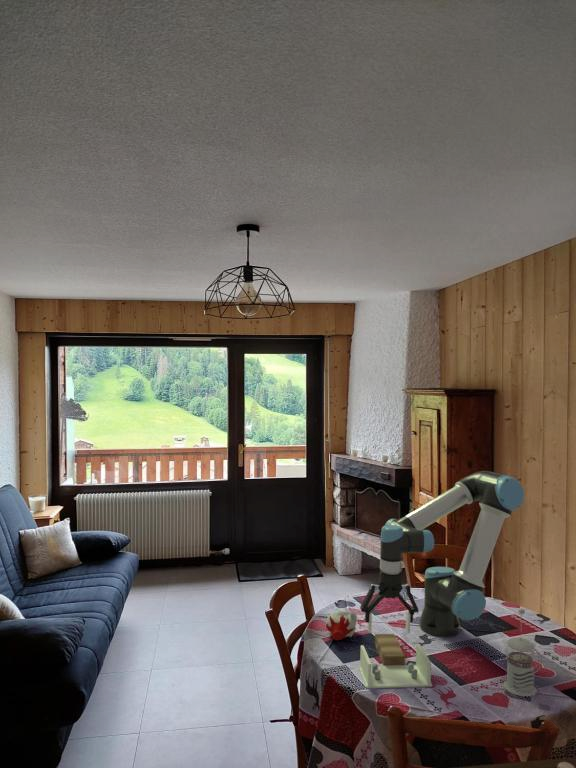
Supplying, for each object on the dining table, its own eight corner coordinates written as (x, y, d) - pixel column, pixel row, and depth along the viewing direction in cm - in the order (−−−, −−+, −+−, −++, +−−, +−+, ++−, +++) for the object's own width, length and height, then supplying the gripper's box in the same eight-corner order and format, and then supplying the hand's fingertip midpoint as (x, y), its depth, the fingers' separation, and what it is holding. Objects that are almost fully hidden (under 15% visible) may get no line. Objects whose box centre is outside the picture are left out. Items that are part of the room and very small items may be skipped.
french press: (497, 679, 178) (499, 602, 178) (532, 678, 179) (533, 601, 179) (512, 697, 168) (514, 615, 168) (549, 695, 169) (550, 615, 169)
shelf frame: (420, 666, 186) (420, 644, 186) (432, 686, 174) (432, 662, 174) (358, 668, 184) (359, 645, 184) (366, 688, 172) (366, 664, 172)
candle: (357, 627, 213) (353, 651, 198) (328, 624, 215) (322, 647, 200) (357, 606, 211) (354, 628, 197) (328, 603, 214) (322, 624, 199)
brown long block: (374, 644, 201) (375, 634, 201) (393, 644, 201) (394, 633, 201) (383, 668, 185) (384, 656, 185) (404, 668, 185) (404, 656, 185)
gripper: (422, 567, 197) (420, 626, 198) (353, 566, 196) (351, 626, 196) (429, 574, 190) (427, 636, 190) (357, 574, 188) (355, 636, 188)
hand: (388, 631), depth 193 cm, fingers open, 13 cm apart
